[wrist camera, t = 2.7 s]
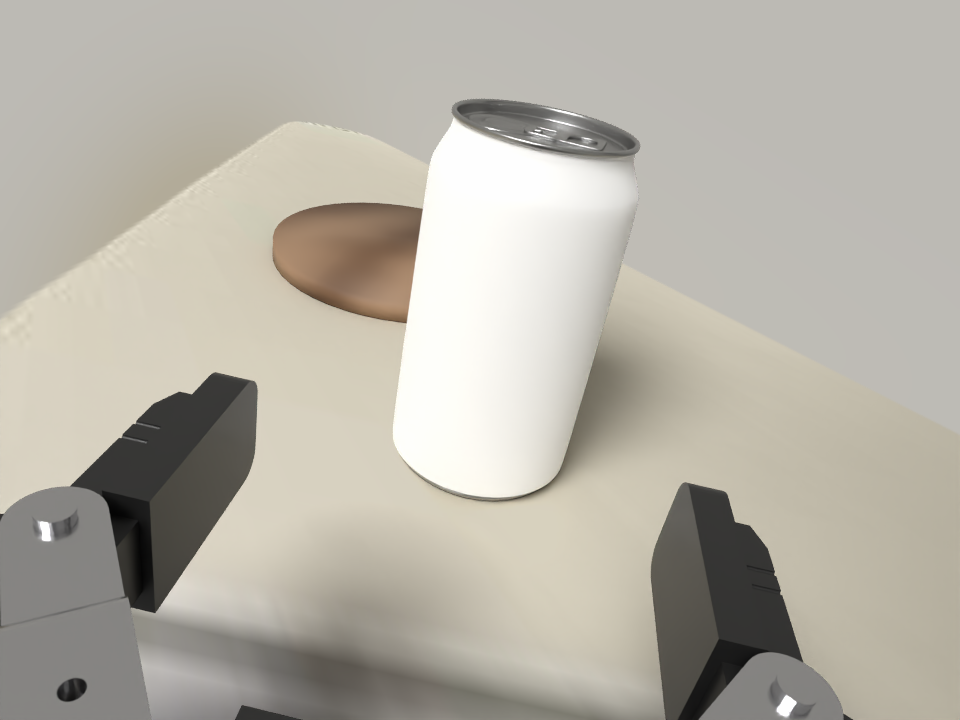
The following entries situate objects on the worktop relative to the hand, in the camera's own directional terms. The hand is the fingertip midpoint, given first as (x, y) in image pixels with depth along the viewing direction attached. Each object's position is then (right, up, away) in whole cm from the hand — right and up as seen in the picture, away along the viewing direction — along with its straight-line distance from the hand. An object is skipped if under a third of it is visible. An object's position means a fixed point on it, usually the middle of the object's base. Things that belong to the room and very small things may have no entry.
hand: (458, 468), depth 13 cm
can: (0, -1, +14) cm, 14 cm away
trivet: (-4, +7, +27) cm, 28 cm away
